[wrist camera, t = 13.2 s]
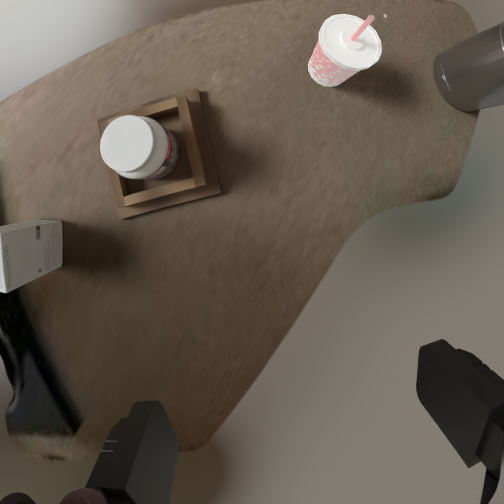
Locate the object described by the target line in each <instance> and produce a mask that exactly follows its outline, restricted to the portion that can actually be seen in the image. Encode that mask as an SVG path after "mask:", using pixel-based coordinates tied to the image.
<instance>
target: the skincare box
mask: <svg viewBox="0 0 504 504" xmlns="http://www.w3.org/2000/svg"><path fill="white" fill-rule="evenodd" d="M62 252H63V246H62V222H61V221H55V220H42V219H35V220H30V221H25V222H20V223H15V224H10V225H5V226H0V292H4V293H8V292H10V291H12V290H14V289H16V288H18V287H20V286H22V285H24V284H26V283H28V282H30V281H32V280H34V279H36V278H38V277H40V276H42V275H44V274H46V273H49V272H51V271H53V270H55V269H57V268H59V267H61V266H62Z"/></svg>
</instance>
